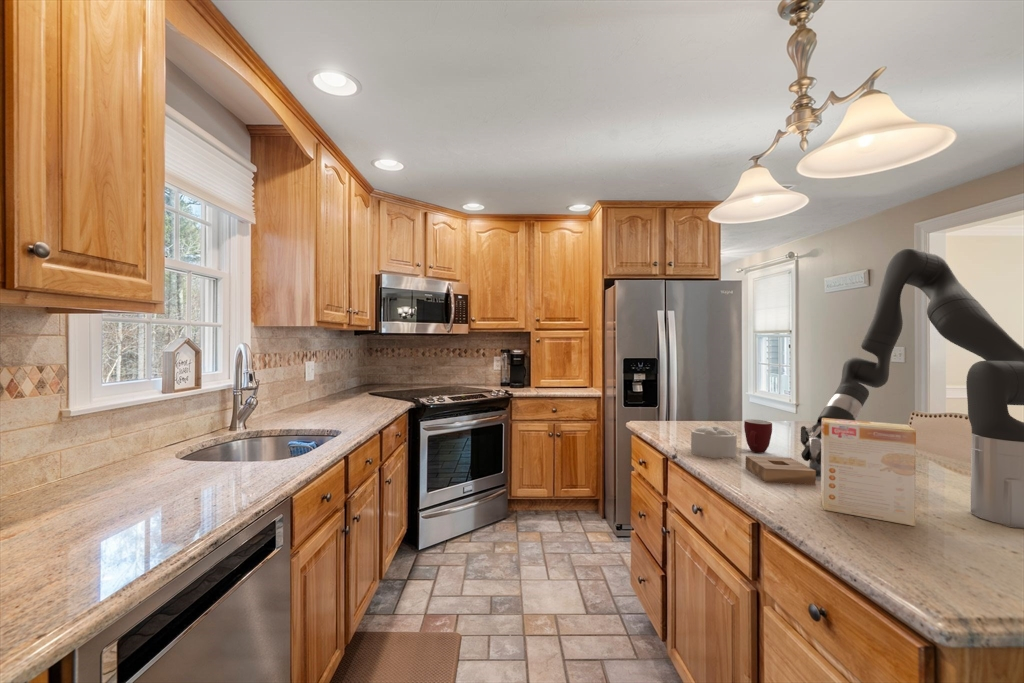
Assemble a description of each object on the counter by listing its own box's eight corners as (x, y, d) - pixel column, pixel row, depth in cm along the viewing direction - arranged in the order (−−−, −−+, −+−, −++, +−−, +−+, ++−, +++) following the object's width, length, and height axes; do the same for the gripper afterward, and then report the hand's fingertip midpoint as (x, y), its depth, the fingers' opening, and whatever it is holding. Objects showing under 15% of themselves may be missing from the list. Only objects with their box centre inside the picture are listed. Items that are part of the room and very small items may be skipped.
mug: (768, 457, 132) (769, 426, 132) (740, 453, 137) (740, 423, 137) (773, 451, 140) (773, 421, 140) (746, 447, 145) (746, 418, 145)
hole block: (815, 486, 106) (815, 470, 106) (765, 483, 107) (765, 468, 107) (790, 471, 117) (790, 457, 117) (745, 469, 119) (745, 455, 119)
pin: (825, 476, 112) (825, 439, 112) (813, 476, 113) (813, 439, 112) (818, 473, 115) (819, 437, 115) (807, 472, 115) (807, 436, 115)
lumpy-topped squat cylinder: (697, 447, 144) (697, 422, 144) (739, 454, 135) (740, 428, 135) (688, 453, 136) (688, 427, 136) (732, 461, 127) (733, 433, 127)
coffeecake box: (906, 515, 89) (907, 424, 89) (916, 527, 83) (917, 429, 83) (819, 500, 97) (820, 416, 97) (822, 510, 91) (824, 421, 91)
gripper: (808, 401, 123) (779, 445, 118) (863, 408, 110) (833, 459, 105) (819, 418, 125) (791, 462, 120) (874, 427, 112) (846, 477, 107)
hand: (811, 460), depth 113 cm, fingers closed on pin, 3 cm apart
